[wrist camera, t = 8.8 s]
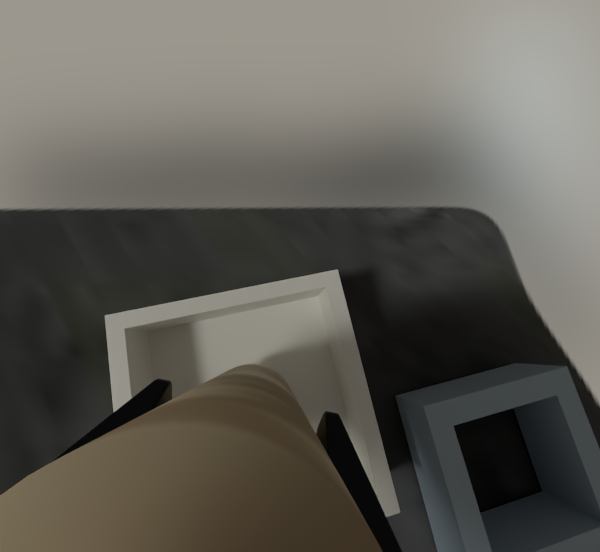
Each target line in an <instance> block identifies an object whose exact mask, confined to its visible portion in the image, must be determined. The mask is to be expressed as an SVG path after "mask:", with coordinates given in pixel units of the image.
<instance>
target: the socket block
mask: <svg viewBox="0 0 600 552" xmlns="http://www.w3.org/2000/svg"><path fill="white" fill-rule="evenodd" d="M395 398H396V401H397V405H398V408H399V412H400V416H401V419H402V423H403V427H404V430H405V434H406V438H407V441H408V445H409V449H410V452H411V456H412V460H413V463H414V467H415V471H416V474H417V478H418V481H419V485H420V489H421V492H422V496H423V500H424V503H425V507H426V511H427V514H428V518H429V522H430V525H431V529H432V533H433V536H434V540H435V544H436V547H437V551H438V552H600V449H599V446H598V444H597V441H596V438H595V436H594V433H593V431H592V428H591V426H590V423H589V421H588V418H587V416H586V413H585V410H584V408H583V405H582V403H581V400H580V398H579V395H578V393H577V390H576V388H575V385H574V382H573V380H572V377H571V375H570V372H569V370H568V367H567V366H555V365H538V364H522V363H514V364H510V365H507V366H503V367H499V368H496V369H492V370H488V371H484V372H481V373H477V374H473V375H470V376H466V377H462V378H459V379H455V380H451V381H448V382H444V383H440V384H436V385H433V386H429V387H425V388H422V389H418V390H414V391H411V392H407V393H403V394H400V395H396V396H395ZM512 408H513V409H514V412H515V415H516V417H517V420H518V423H519V426H520V429H521V432H522V435H523V438H524V440H525V443H526V446H527V449H528V452H529V455H530V458H531V461H532V463H533V466H534V469H535V472H536V475H537V478H538V481H539V484H540V487H541V489H542V492H539V493H536V494H533V495H530V496H527V497H524V498H522V499H519V500H516V501H513V502H510V503H507V504H504V505H501V506H499V507H496V508H493V509H490V510H487V511H484V512H481V513H480V511H479V507H478V504H477V501H476V498H475V494H474V491H473V488H472V485H471V481H470V478H469V475H468V471H467V468H466V465H465V462H464V458H463V455H462V452H461V449H460V445H459V442H458V439H457V436H456V432H455V429H454V425H458V424H461V423H464V422H468V421H471V420H475V419H478V418H481V417H485V416H488V415H491V414H495V413H498V412H502V411H505V410H508V409H512Z"/></svg>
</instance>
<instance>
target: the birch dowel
mask: <svg viewBox="0 0 600 552" xmlns="http://www.w3.org/2000/svg"><path fill="white" fill-rule="evenodd" d="M0 552H383V551H382V550H381V548H380V546H379V544H378V542H377V540H376V538H375V537H374V535H373V533H372V531H371V530H370V528H369V526H368V524H367V523H366V521H365V519H364V517H363V516H362V514H361V512H360V510H359V509H358V507H357V505H356V503H355V502H354V500H353V498H352V496H351V494H350V493H349V491H348V489H347V487H346V486H345V484H344V482H343V480H342V479H341V477H340V475H339V473H338V472H337V470H336V468H335V466H334V465H333V463H332V461H331V459H330V458H329V456H328V454H327V452H326V451H325V449H324V447H323V445H322V443H321V442H320V440H319V438H318V436H317V435H316V433H315V431H314V429H313V428H312V426H311V424H310V422H309V421H308V419H307V417H306V415H305V414H304V412H303V410H302V408H301V407H300V405H299V403H298V401H297V400H296V398H295V396H294V394H293V392H292V391H291V389H290V387H289V385H288V384H287V382H286V381H285V380H284V378H283V377H282V376H281V375H280V374H278V373H277V372H276V371H274V370H273V369H271V368H269V367H267V366H264V365H260V364H244V365H240V366H237V367H234V368H232V369H230V370H228V371H226V372H224V373H222V374H220V375H218V376H216V377H214V378H213V379H211V380H209V381H207V382H205V383H203V384H201V385H199V386H197V387H195V388H193V389H191V390H189V391H187V392H186V393H184V394H182V395H180V396H178V397H176V398H174V399H172V400H170V401H168V402H166V403H164V404H162V405H161V406H159V407H157V408H155V409H153V410H151V411H149V412H147V413H145V414H143V415H141V416H139V417H137V418H135V419H134V420H132V421H130V422H128V423H126V424H124V425H122V426H120V427H118V428H116V429H114V430H112V431H110V432H108V433H107V434H105V435H103V436H101V437H99V438H97V439H95V440H93V441H91V442H89V443H87V444H85V445H83V446H81V447H80V448H78V449H76V450H74V451H72V452H70V453H68V454H66V455H64V456H62V457H60V458H59V459H57V460H55V461H53V462H52V463H50V464H48V465H46V466H44V467H43V468H41V469H39V470H37V471H36V472H34V473H32V474H30V475H29V476H27V477H26V478H24V479H23V480H21V481H20V482H19V483H17V484H16V485H14V486H13V487H12V488H10V489H9V490H7V491H6V492H5V493H3V494H2V495H0Z"/></svg>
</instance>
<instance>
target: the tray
mask: <svg viewBox="0 0 600 552" xmlns="http://www.w3.org/2000/svg"><path fill="white" fill-rule="evenodd" d="M105 324H106V335H107V346H108V357H109V368H110V379H111V390H112V401H113V412H115V411H116V410H118V409H119V408H120V407H121V406H123V405H124V404H125V403H126V402H128V401H129V400H130V399H131V398H133V397H134V396H135V395H137V394H138V393H139V392H140V391H142V390H143V389H144V388H145V387H147V386H148V385H149V384H150V383H152V382H153V381H154V380H156V379H164V380H169V381H171V382H172V399H174V398H176V397H178V396H180V395H182V394H184V393H186V392H187V391H189V390H191V389H193V388H195V387H197V386H199V385H201V384H203V383H205V382H207V381H209V380H211V379H213V378H214V377H216V376H218V375H220V374H222V373H224V372H226V371H228V370H230V369H232V368H234V367H237V366H240V365H244V364H260V365H264V366H267V367H269V368H271V369H273V370H274V371H276V372H277V373H278V374H280V375H281V376H282V377H283V378H284V380H285V381H286V382H287V384H288V385H289V387H290V389H291V391H292V392H293V394H294V396H295V398H296V400H297V401H298V403H299V405H300V407H301V408H302V410H303V412H304V414H305V415H306V417H307V419H308V421H309V422H310V424H311V426H312V428H313V429H314V431H315V433H317V428H318V425H319V423H320V420H321V418H322V415H323V413H324V412H325V411H330V412H335V413H338V414H339V416H340V418H341V420H342V422H343V424H344V426H345V429H346V431H347V433H348V435H349V437H350V439H351V442H352V444H353V446H354V448H355V450H356V453H357V455H358V457H359V459H360V461H361V463H362V466H363V468H364V470H365V472H366V474H367V476H368V479H369V481H370V483H371V485H372V487H373V489H374V492H375V494H376V496H377V498H378V500H379V503H380V505H381V507H382V509H383V511H384V513H385V516H386V517H388V516H391V515H394V514H397V513H400V509H399V505H398V501H397V498H396V494H395V490H394V486H393V482H392V478H391V474H390V470H389V467H388V463H387V459H386V455H385V451H384V447H383V443H382V439H381V436H380V432H379V428H378V424H377V420H376V416H375V412H374V408H373V405H372V401H371V397H370V393H369V389H368V385H367V381H366V377H365V374H364V370H363V366H362V362H361V358H360V354H359V350H358V346H357V342H356V339H355V335H354V331H353V327H352V323H351V319H350V315H349V311H348V308H347V304H346V300H345V296H344V292H343V288H342V284H341V280H340V277H339V273H338V269H337V270H332V271H327V272H322V273H317V274H312V275H307V276H302V277H297V278H292V279H287V280H282V281H277V282H272V283H267V284H261V285H256V286H251V287H246V288H241V289H236V290H231V291H226V292H221V293H216V294H211V295H206V296H201V297H196V298H191V299H186V300H181V301H176V302H171V303H166V304H161V305H156V306H150V307H145V308H140V309H135V310H130V311H125V312H120V313H115V314H110V315H105Z"/></svg>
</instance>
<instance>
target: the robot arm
mask: <svg viewBox="0 0 600 552" xmlns="http://www.w3.org/2000/svg"><path fill="white" fill-rule="evenodd" d="M170 400H172V382H171V381H169V380H164V379H156V380H154V381H153V382H152V383H150V384H149V385H148V386H147V387H145V388H144V389H143V390H142V391H140V392H139V393H138V394H137V395H135V396H134V397H133V398H131V399H130V400H129V401H128V402H126V403H125V404H124V405H123V406H121V407H120V408H119V409H118V410H116V411H115V412H114V413H113V414H111V415H110V416H109V417H108V418H106V419H105V420H104V421H103V422H101V423H100V424H99V425H98V426H96V427H95V428H94V429H93V430H91V431H90V432H89V433H88V434H86V435H85V436H84V437H82V438H81V439H80V440H79V441H77V442H76V443H75V444H74V445H72V446H71V447H70V448H69V449H67V450H66V451H65V452H64V453H62V454H61V455H60V456H59V457H57V458H56V459H55V460H57V459H59V458H60V457H62V456H64V455H66V454H68V453H70V452H72V451H74V450H76V449H78V448H80V447H81V446H83V445H85V444H87V443H89V442H91V441H93V440H95V439H97V438H99V437H101V436H103V435H105V434H107V433H108V432H110V431H112V430H114V429H116V428H118V427H120V426H122V425H124V424H126V423H128V422H130V421H132V420H134V419H135V418H137V417H139V416H141V415H143V414H145V413H147V412H149V411H151V410H153V409H155V408H157V407H159V406H161V405H162V404H164V403H166V402H168V401H170ZM316 435H317V436H318V438H319V440H320V442H321V443H322V445H323V447H324V449H325V451H326V452H327V454H328V456H329V458H330V459H331V461H332V463H333V465H334V466H335V468H336V470H337V472H338V473H339V475H340V477H341V479H342V480H343V482H344V484H345V486H346V487H347V489H348V491H349V493H350V494H351V496H352V498H353V500H354V502H355V503H356V505H357V507H358V509H359V510H360V512H361V514H362V516H363V517H364V519H365V521H366V523H367V524H368V526H369V528H370V530H371V531H372V533H373V535H374V537H375V538H376V540H377V542H378V544H379V546H380V548H381V550H382V551H383V552H402V550H401V548H400V546H399V544H398V542H397V539H396V537H395V535H394V533H393V531H392V529H391V526H390V524H389V522H388V520H387V518H386V516H385V513H384V511H383V509H382V507H381V505H380V503H379V500H378V498H377V496H376V494H375V492H374V489H373V487H372V485H371V483H370V481H369V479H368V476H367V474H366V472H365V470H364V468H363V466H362V463H361V461H360V459H359V457H358V455H357V453H356V450H355V448H354V446H353V444H352V442H351V439H350V437H349V435H348V433H347V431H346V429H345V426H344V424H343V422H342V420H341V418H340V416H339V414H338V413H335V412H330V411H325V412H324V413H323V415H322V418H321V420H320V423H319V425H318V428H317V433H316ZM55 460H54V461H55ZM52 462H53V461H52ZM52 462H51V463H52Z"/></svg>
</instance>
